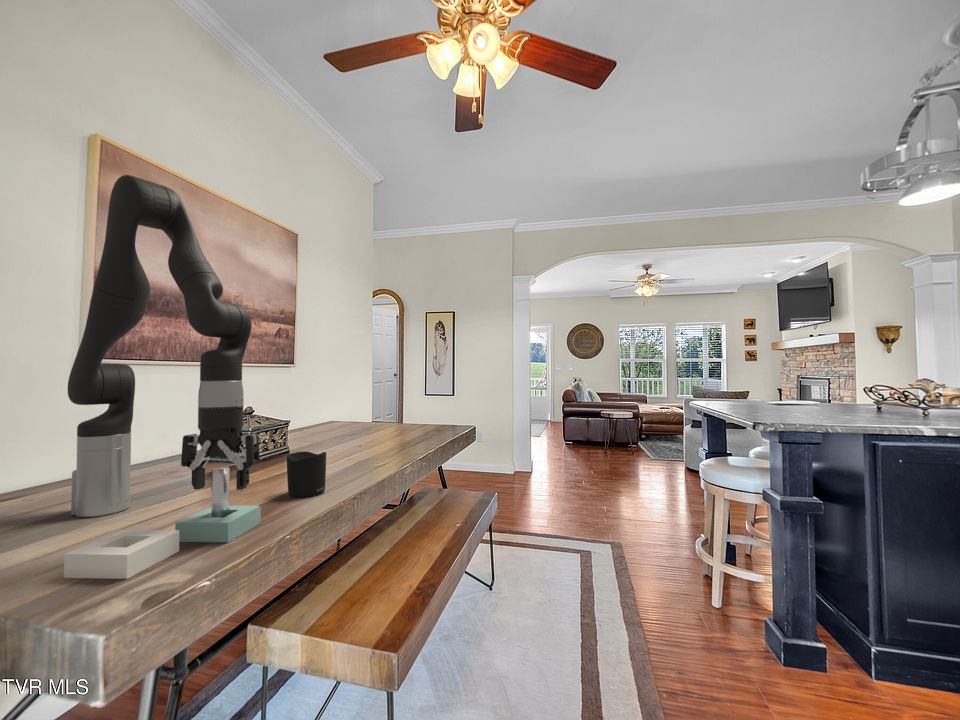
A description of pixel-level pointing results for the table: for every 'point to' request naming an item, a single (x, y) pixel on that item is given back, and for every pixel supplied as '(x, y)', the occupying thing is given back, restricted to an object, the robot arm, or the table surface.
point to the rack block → (218, 525)
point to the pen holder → (306, 474)
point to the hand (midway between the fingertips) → (220, 488)
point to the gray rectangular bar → (220, 492)
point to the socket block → (121, 554)
